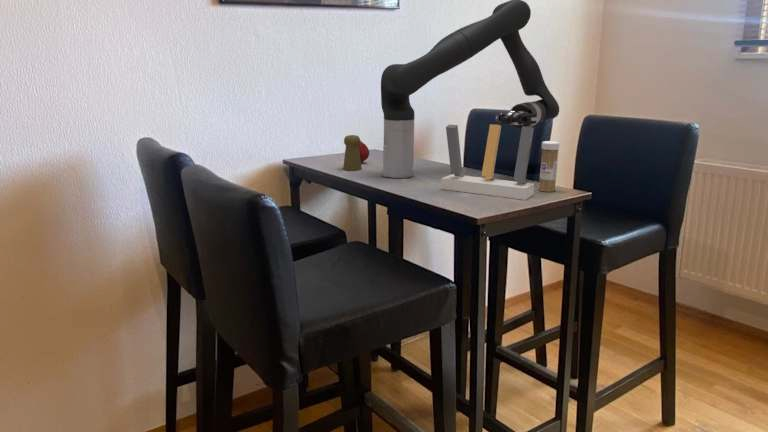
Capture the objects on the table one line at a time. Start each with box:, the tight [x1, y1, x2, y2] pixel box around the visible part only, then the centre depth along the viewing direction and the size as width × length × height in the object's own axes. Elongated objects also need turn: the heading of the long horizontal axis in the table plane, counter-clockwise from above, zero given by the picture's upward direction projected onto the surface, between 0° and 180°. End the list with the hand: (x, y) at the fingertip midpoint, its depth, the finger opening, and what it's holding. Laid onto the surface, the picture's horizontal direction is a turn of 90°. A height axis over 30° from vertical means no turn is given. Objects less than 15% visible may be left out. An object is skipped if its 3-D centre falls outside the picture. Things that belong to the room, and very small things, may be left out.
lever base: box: [440, 174, 535, 201], centre depth 162 cm, size 24×7×3 cm, turn 58°
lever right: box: [513, 126, 535, 184], centre depth 157 cm, size 3×2×15 cm
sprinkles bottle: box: [538, 140, 560, 193], centre depth 163 cm, size 5×5×13 cm
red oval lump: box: [359, 139, 370, 164], centre depth 203 cm, size 6×6×8 cm
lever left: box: [445, 124, 463, 177], centre depth 163 cm, size 3×2×15 cm
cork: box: [342, 134, 363, 172], centre depth 192 cm, size 6×6×11 cm
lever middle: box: [481, 123, 502, 180], centre depth 161 cm, size 3×2×15 cm
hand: (505, 121), depth 167 cm, fingers closed
